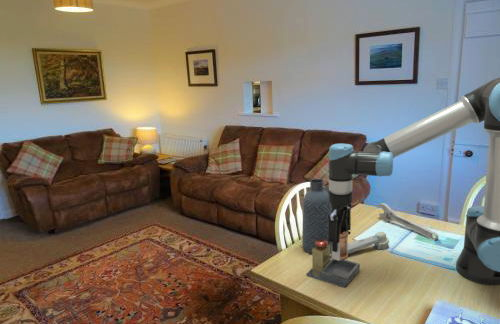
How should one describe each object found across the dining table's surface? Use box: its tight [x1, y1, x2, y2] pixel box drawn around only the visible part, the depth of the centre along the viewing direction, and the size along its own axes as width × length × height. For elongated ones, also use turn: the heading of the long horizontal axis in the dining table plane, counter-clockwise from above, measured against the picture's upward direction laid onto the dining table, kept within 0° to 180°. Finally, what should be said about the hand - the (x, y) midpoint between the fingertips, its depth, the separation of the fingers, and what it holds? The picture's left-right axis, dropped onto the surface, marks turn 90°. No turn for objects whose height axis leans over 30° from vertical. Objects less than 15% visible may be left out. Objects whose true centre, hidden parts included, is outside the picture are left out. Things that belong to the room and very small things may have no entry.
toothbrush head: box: [330, 231, 390, 255], centre depth 141 cm, size 5×7×25 cm
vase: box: [301, 178, 332, 255], centre depth 143 cm, size 12×12×28 cm
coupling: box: [330, 229, 349, 260], centre depth 124 cm, size 6×6×9 cm
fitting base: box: [306, 239, 361, 289], centre depth 126 cm, size 14×13×11 cm
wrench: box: [376, 202, 439, 241], centre depth 159 cm, size 8×2×30 cm
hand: (339, 255), depth 125 cm, fingers closed on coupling, 6 cm apart
